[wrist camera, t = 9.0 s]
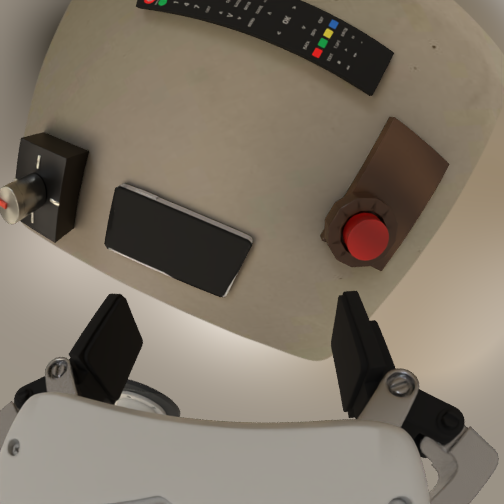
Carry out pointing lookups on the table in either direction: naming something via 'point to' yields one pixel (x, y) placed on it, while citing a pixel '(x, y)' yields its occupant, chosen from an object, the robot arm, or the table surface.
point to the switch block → (387, 191)
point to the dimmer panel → (53, 181)
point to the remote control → (294, 33)
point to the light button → (365, 236)
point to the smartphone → (175, 240)
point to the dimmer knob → (22, 198)
